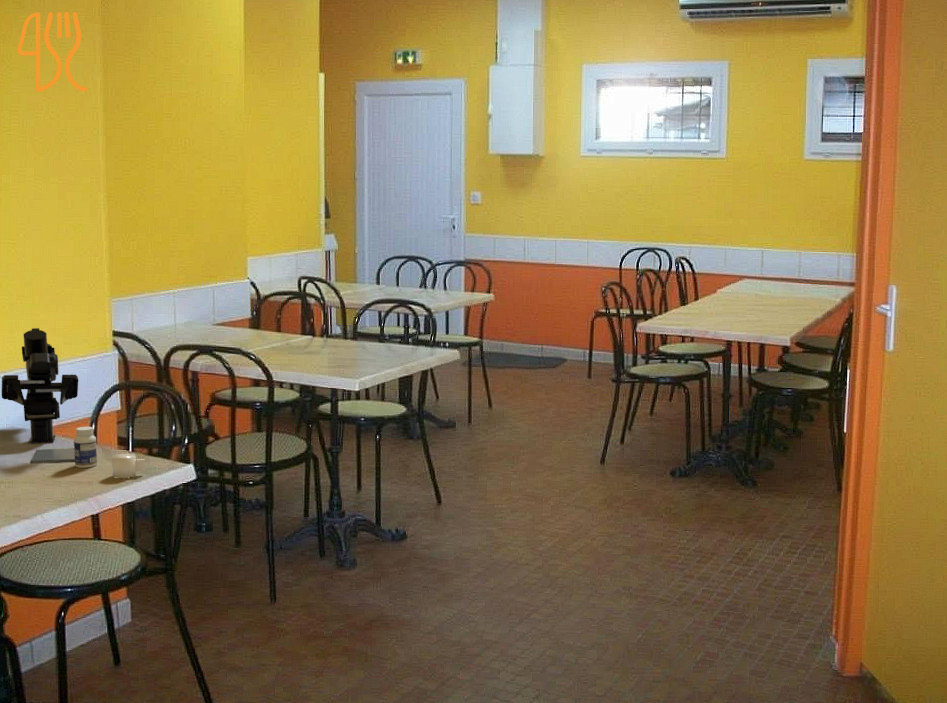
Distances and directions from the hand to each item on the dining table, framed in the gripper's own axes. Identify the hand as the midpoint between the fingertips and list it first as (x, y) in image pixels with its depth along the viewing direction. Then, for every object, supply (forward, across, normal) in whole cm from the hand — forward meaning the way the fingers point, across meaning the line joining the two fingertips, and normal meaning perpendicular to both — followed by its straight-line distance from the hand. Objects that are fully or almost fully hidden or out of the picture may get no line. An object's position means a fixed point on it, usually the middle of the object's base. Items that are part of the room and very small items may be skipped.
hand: (42, 403), depth 302 cm
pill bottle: (+13, +10, +11) cm, 20 cm away
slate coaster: (+2, +4, +15) cm, 16 cm away
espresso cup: (+26, +19, +6) cm, 32 cm away
